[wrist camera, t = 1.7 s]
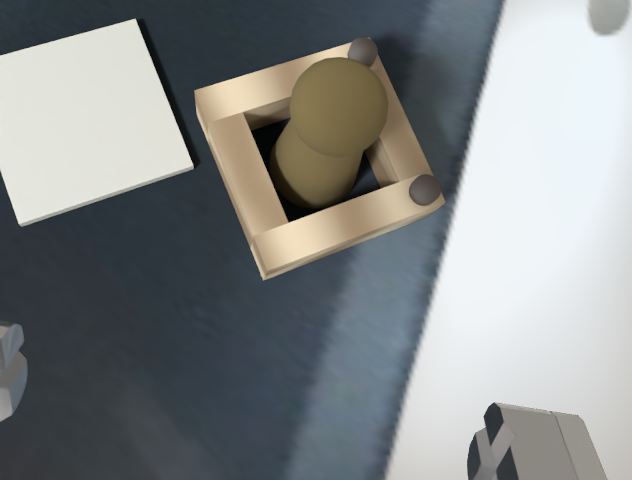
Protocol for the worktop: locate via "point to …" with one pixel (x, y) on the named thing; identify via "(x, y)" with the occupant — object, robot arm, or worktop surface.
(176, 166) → the white mat
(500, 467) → the robot arm
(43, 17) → the worktop surface
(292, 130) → the brown pawn
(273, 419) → the worktop surface
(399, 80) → the worktop surface
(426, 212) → the sleeve block
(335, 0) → the worktop surface
